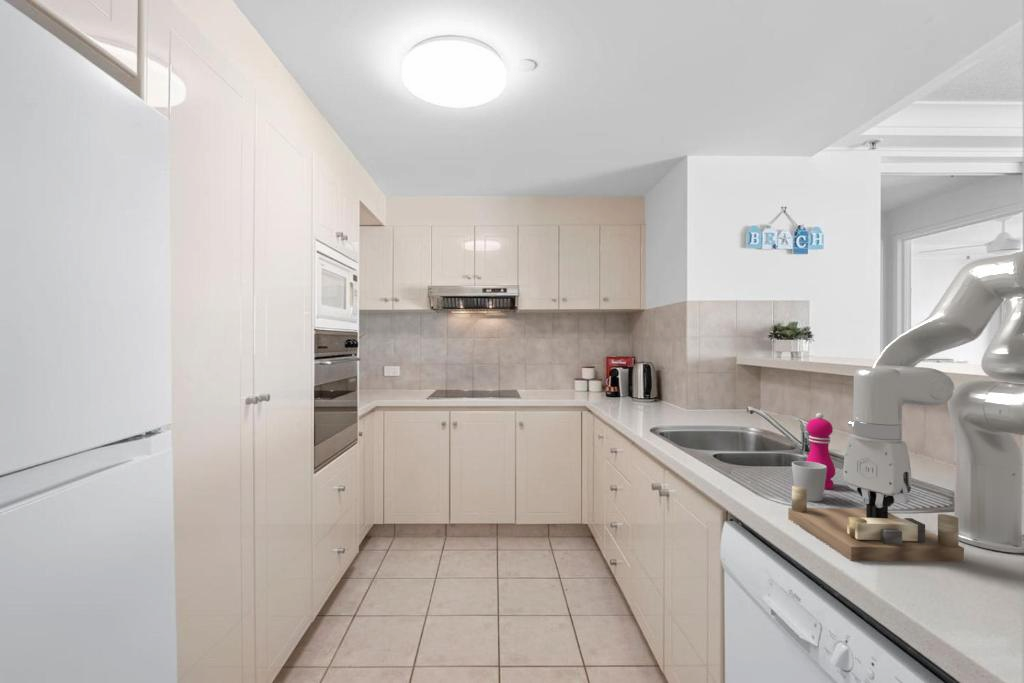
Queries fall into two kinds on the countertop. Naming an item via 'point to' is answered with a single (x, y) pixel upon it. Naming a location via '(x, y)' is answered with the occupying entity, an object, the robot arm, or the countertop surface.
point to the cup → (810, 478)
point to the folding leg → (873, 526)
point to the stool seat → (890, 548)
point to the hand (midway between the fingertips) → (877, 525)
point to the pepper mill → (821, 446)
